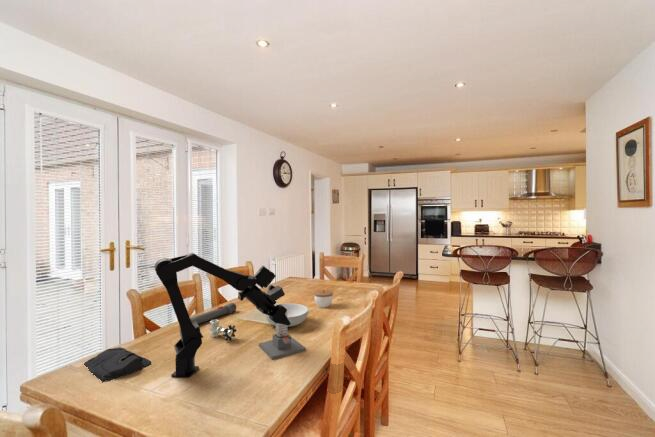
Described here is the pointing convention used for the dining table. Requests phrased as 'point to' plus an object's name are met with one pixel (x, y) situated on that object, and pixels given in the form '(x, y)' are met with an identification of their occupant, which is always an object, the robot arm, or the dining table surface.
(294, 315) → the serving bowl
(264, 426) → the dining table surface
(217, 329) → the valve
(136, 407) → the dining table surface
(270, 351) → the jack stand base
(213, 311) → the flashlight
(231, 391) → the dining table surface
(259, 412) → the dining table surface
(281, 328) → the block
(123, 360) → the dark slate chunk
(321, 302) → the lidded jar
